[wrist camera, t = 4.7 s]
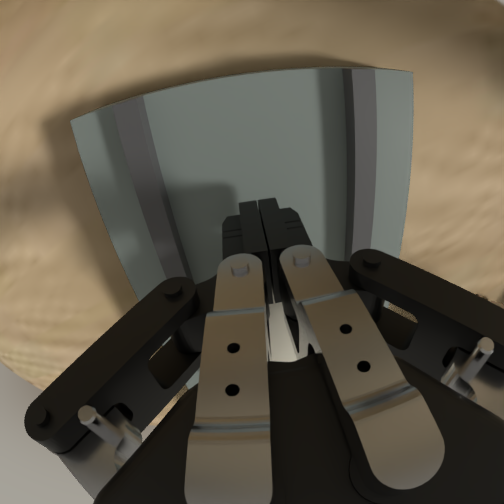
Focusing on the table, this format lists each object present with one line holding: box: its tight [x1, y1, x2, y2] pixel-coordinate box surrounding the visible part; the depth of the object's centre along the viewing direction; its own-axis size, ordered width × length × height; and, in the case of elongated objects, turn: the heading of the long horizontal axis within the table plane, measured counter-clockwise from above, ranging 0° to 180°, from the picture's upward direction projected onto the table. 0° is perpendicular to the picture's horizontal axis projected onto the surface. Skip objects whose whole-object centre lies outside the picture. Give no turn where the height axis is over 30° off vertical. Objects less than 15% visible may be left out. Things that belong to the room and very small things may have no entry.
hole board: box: [70, 67, 413, 389], centre depth 20 cm, size 15×30×4 cm, turn 8°
